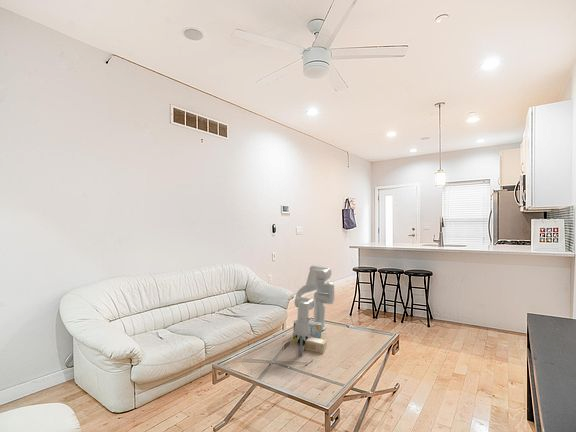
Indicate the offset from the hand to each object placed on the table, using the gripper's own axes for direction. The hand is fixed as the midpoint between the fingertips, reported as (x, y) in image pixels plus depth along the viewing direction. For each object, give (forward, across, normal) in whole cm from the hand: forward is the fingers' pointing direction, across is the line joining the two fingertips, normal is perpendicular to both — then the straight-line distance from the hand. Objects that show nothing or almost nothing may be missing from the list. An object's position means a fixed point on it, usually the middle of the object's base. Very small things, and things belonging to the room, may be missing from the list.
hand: (301, 344), depth 219 cm
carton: (+8, -7, -14) cm, 18 cm away
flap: (+7, 0, -5) cm, 9 cm away
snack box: (+8, 0, -23) cm, 25 cm away
